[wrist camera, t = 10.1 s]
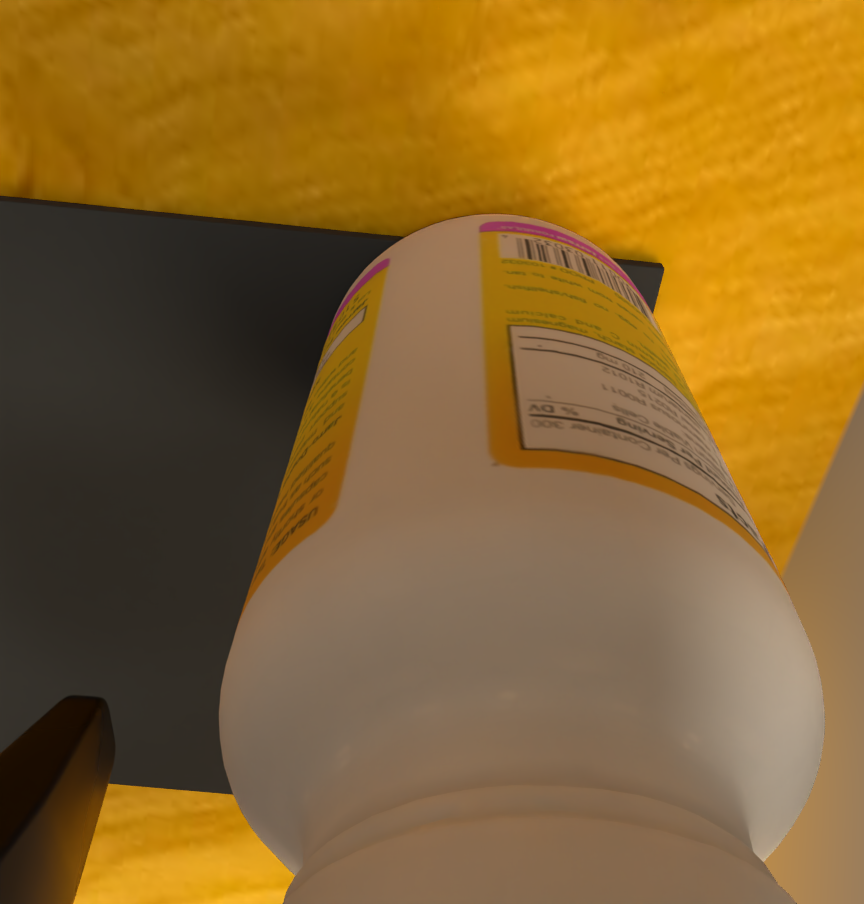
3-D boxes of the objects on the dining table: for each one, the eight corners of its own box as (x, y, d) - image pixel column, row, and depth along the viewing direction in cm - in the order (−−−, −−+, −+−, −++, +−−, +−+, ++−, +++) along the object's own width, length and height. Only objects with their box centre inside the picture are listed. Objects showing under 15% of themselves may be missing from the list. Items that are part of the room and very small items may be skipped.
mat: (662, 262, 16) (665, 268, 16) (521, 811, 26) (521, 820, 26) (-276, 167, 16) (-288, 171, 15) (-56, 760, 25) (-61, 769, 25)
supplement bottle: (387, 519, 19) (288, 1279, 9) (279, 256, 16) (-110, 972, 5) (676, 457, 18) (982, 1251, 7) (627, 158, 15) (1071, 826, 4)
